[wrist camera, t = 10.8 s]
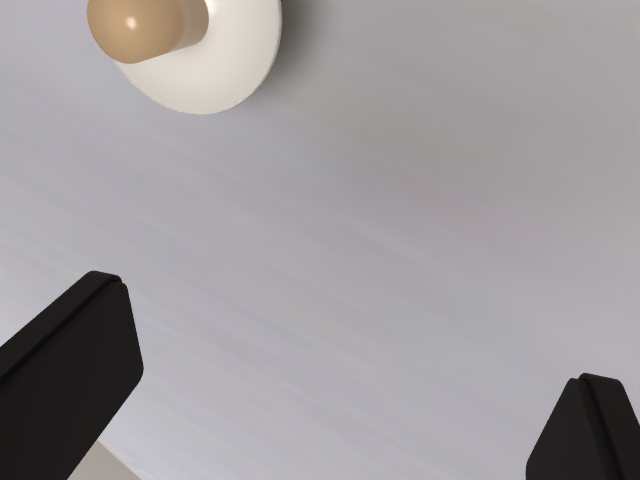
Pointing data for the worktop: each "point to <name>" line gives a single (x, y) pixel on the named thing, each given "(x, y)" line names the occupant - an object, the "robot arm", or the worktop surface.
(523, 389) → the worktop surface
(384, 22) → the worktop surface
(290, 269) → the worktop surface
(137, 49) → the lid
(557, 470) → the robot arm
